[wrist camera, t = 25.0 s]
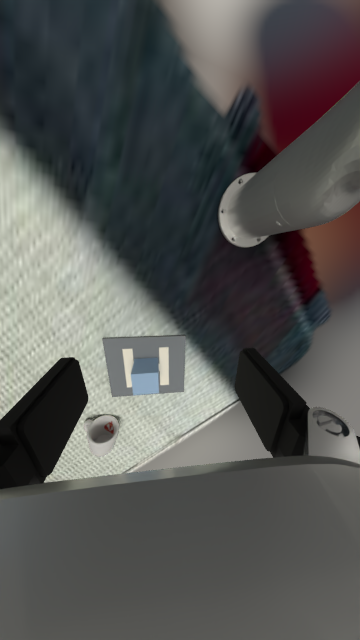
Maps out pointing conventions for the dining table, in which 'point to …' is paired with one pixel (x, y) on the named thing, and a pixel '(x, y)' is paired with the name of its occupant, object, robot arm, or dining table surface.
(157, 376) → the cube
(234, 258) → the dining table surface
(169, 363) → the letter mat
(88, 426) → the cup
